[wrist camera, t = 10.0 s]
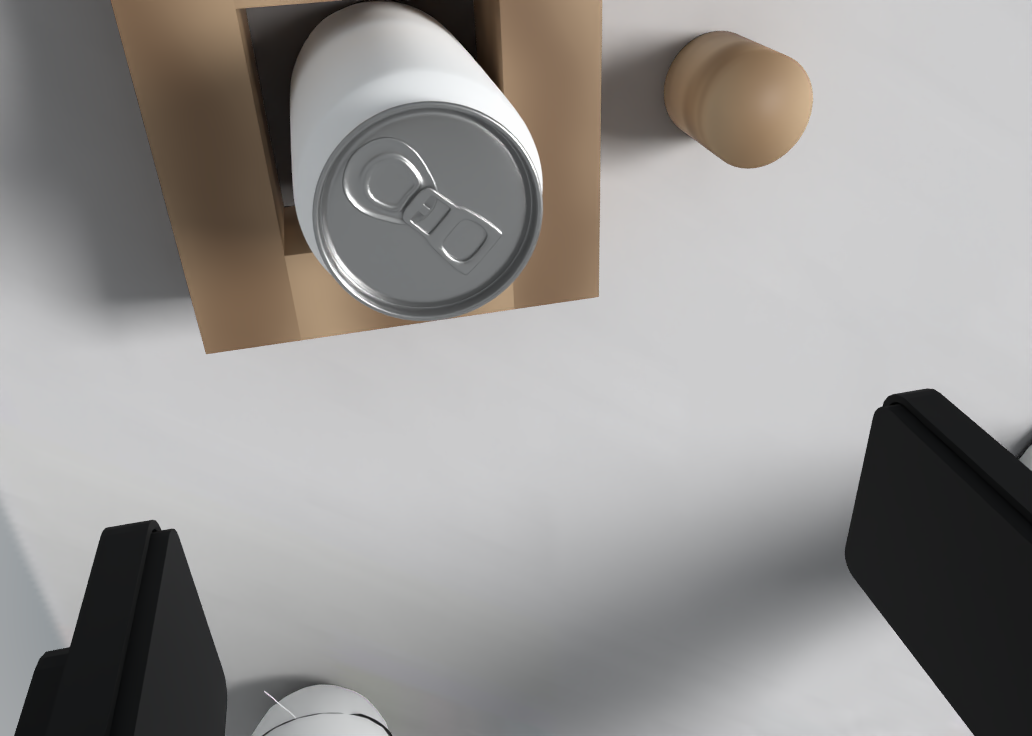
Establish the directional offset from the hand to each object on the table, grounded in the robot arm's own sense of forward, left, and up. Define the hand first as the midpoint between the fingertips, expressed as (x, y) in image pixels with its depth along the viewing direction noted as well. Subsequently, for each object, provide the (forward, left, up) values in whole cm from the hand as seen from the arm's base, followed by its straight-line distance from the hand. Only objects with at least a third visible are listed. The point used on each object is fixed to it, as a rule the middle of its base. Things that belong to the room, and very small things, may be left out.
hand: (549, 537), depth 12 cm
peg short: (-13, +1, -23) cm, 27 cm away
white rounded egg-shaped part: (+7, +30, -24) cm, 39 cm away
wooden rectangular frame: (0, 0, -23) cm, 23 cm away
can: (0, 0, -24) cm, 24 cm away
